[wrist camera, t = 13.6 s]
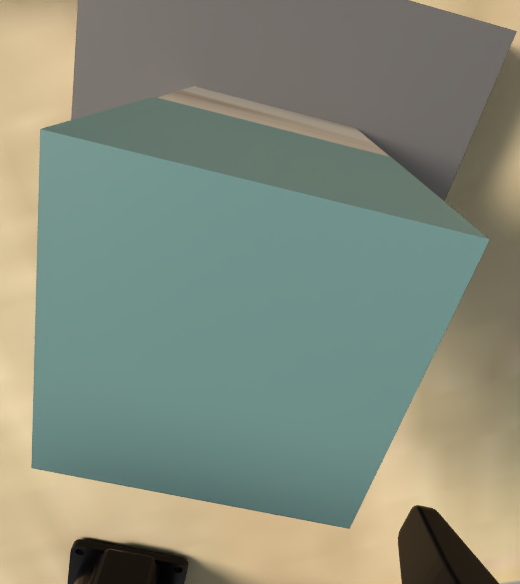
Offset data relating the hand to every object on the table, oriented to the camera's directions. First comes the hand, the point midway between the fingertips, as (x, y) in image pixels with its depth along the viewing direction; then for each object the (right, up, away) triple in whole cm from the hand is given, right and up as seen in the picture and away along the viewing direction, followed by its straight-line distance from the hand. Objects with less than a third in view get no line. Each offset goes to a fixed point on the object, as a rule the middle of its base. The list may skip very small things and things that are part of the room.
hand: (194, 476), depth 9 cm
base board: (+1, +8, +8) cm, 11 cm away
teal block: (+1, +5, +1) cm, 5 cm away
